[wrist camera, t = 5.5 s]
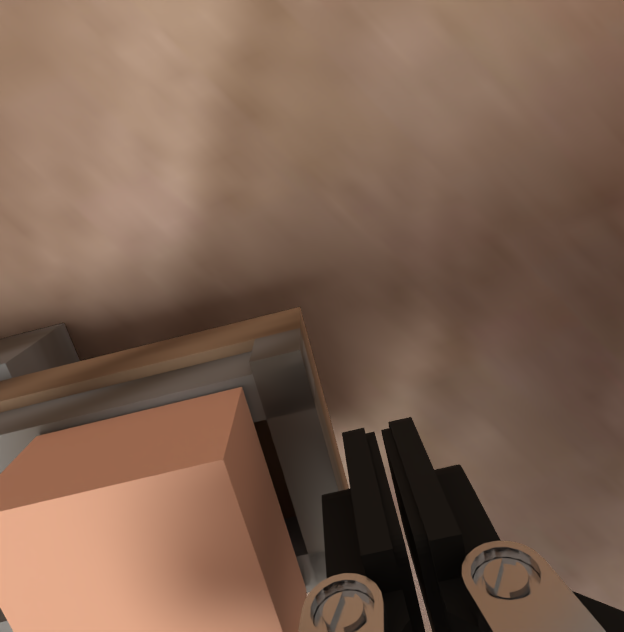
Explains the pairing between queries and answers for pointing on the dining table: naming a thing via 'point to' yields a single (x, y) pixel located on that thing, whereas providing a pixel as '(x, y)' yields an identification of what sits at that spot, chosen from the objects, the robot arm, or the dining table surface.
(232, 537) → the block
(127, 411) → the grey and brown tray
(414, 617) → the robot arm
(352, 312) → the dining table surface
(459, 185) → the dining table surface
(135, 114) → the dining table surface
